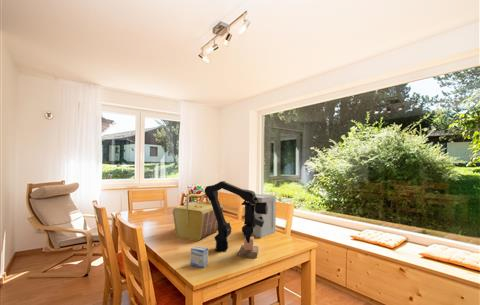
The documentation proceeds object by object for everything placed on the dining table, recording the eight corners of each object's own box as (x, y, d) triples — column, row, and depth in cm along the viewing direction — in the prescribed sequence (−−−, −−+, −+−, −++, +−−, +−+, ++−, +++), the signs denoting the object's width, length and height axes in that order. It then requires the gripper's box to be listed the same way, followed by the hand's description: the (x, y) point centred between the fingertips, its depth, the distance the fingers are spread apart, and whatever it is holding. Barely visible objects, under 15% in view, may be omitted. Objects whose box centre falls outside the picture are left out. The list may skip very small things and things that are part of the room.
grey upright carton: (260, 228, 188) (260, 193, 189) (275, 232, 178) (276, 195, 179) (244, 233, 173) (245, 195, 174) (260, 238, 163) (261, 197, 164)
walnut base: (238, 256, 132) (239, 251, 132) (241, 249, 141) (241, 244, 142) (256, 257, 130) (256, 252, 130) (258, 251, 140) (258, 246, 140)
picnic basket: (195, 227, 188) (196, 189, 190) (224, 231, 178) (224, 191, 179) (170, 237, 162) (171, 193, 163) (201, 243, 151) (202, 196, 152)
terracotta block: (244, 249, 134) (244, 239, 134) (245, 246, 139) (245, 236, 139) (252, 250, 133) (252, 239, 133) (253, 247, 138) (253, 236, 138)
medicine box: (190, 265, 119) (190, 248, 119) (194, 262, 123) (195, 245, 124) (203, 268, 116) (204, 250, 117) (208, 264, 120) (208, 247, 121)
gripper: (262, 217, 126) (262, 246, 125) (264, 210, 144) (264, 236, 144) (241, 216, 128) (241, 245, 127) (246, 209, 146) (246, 234, 146)
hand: (249, 240), depth 136 cm, fingers open, 9 cm apart
